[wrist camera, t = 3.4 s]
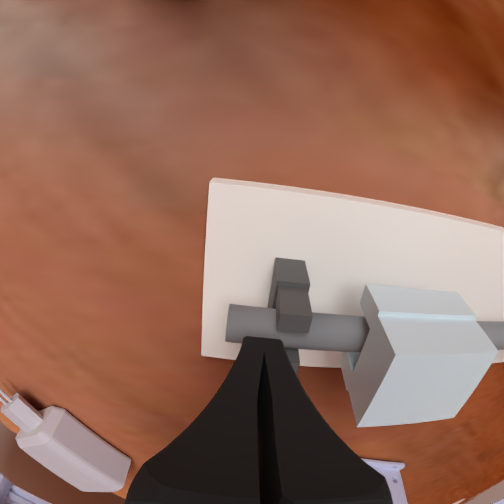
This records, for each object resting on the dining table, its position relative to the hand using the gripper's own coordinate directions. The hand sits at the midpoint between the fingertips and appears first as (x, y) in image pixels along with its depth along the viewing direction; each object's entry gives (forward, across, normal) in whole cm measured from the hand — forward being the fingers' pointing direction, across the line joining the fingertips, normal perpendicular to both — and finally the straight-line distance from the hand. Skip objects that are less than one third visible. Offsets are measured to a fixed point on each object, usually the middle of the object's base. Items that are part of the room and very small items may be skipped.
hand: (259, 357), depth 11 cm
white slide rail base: (+6, -12, 0) cm, 13 cm away
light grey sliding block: (+2, -7, 0) cm, 7 cm away
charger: (+6, +19, +20) cm, 28 cm away
